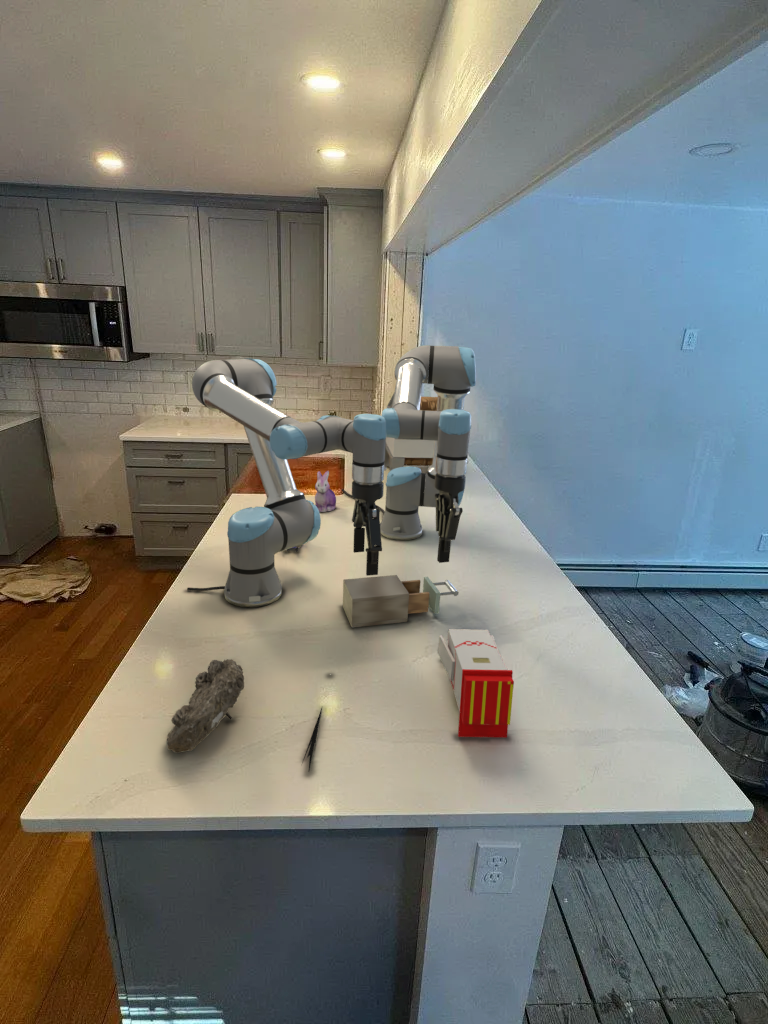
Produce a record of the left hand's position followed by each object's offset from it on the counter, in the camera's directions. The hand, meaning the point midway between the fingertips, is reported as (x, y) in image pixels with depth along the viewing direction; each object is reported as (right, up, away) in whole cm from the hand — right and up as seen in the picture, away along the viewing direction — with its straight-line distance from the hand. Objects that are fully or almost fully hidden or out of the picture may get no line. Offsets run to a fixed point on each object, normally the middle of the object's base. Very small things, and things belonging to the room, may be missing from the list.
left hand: (365, 562), depth 141 cm
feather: (-8, -27, -32) cm, 43 cm away
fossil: (-28, -26, -33) cm, 51 cm away
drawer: (+14, -12, +9) cm, 21 cm away
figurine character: (-25, +2, +45) cm, 51 cm away
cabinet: (+2, -14, +6) cm, 15 cm away
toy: (+23, -25, -23) cm, 41 cm away
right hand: (+20, 0, +6) cm, 21 cm away
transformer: (+22, +31, +134) cm, 139 cm away
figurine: (-18, +14, +80) cm, 83 cm away
